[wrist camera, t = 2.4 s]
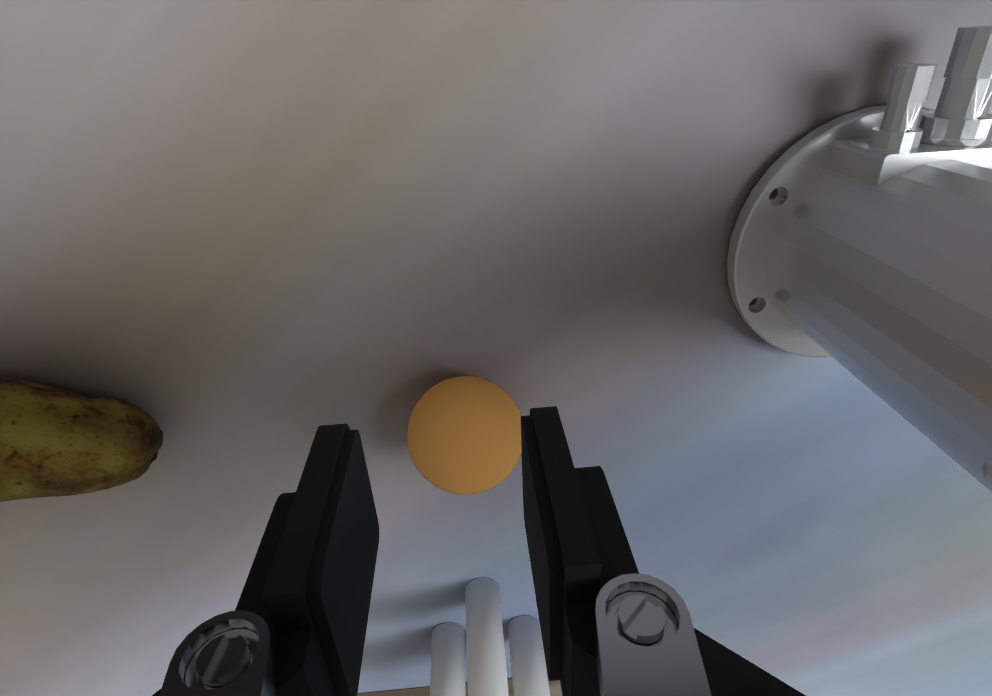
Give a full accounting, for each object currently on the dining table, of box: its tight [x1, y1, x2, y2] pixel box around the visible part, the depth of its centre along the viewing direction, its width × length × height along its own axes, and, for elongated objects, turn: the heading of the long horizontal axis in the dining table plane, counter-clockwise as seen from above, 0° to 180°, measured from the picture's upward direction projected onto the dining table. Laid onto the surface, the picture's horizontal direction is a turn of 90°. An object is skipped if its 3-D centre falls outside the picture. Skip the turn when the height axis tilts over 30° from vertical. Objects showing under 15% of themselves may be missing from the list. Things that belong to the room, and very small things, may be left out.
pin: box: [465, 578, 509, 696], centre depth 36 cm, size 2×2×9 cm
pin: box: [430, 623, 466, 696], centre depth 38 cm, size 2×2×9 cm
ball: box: [407, 376, 522, 494], centre depth 29 cm, size 6×6×6 cm
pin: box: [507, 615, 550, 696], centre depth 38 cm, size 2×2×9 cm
